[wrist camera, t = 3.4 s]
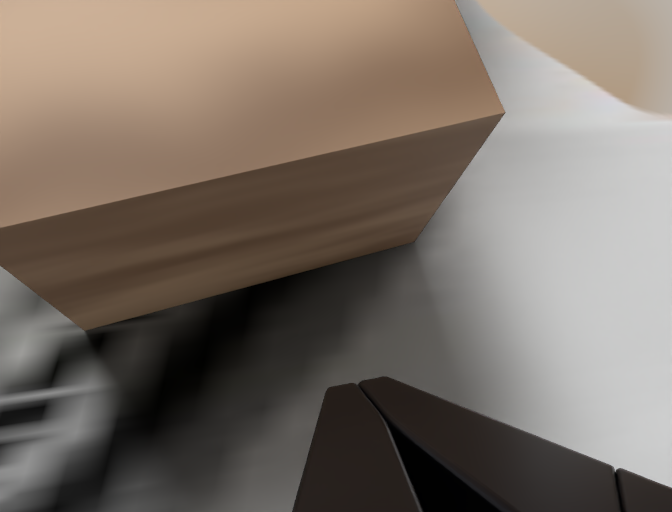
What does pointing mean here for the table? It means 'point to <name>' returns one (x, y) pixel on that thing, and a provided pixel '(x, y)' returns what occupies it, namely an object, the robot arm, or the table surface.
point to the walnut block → (224, 141)
